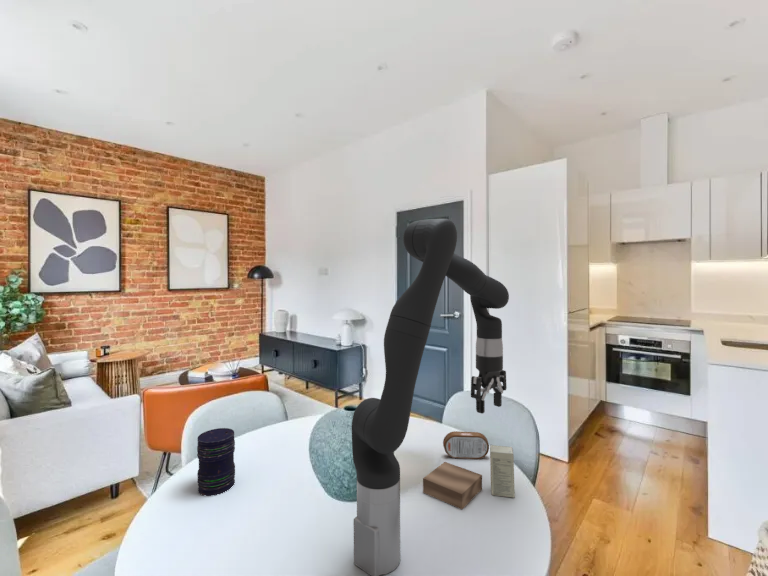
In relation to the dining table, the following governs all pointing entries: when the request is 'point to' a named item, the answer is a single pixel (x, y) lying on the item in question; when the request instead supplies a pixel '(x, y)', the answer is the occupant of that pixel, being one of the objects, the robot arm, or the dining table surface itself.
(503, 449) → the skincare box
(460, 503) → the walnut plinth
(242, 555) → the dining table surface
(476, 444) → the tin
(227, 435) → the dark blue cylinder
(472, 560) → the dining table surface
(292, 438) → the dining table surface
